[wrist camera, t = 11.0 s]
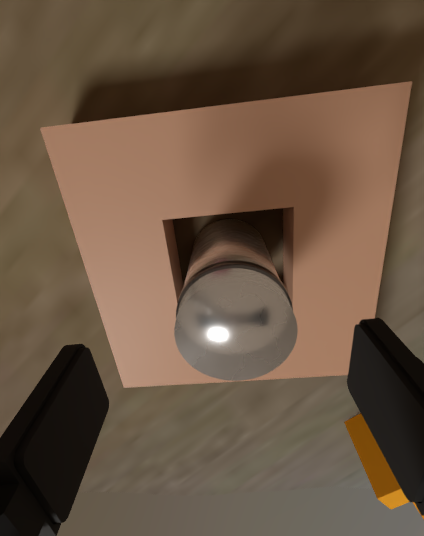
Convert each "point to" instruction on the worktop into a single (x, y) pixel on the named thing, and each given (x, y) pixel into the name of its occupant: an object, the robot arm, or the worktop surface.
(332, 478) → the worktop surface
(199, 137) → the pink square holed slab
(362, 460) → the pipe clamp
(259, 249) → the piston
